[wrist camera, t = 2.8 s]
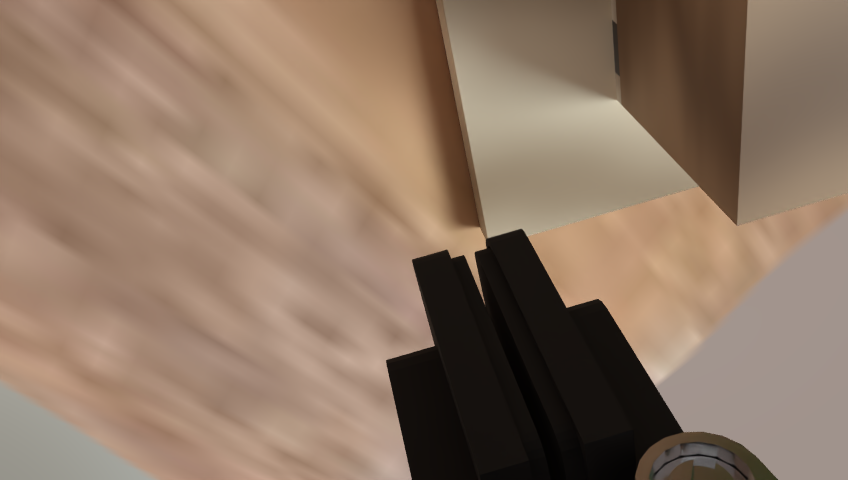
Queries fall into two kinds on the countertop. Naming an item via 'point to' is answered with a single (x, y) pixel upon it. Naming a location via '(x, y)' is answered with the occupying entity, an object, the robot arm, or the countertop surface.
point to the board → (547, 115)
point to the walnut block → (741, 95)
